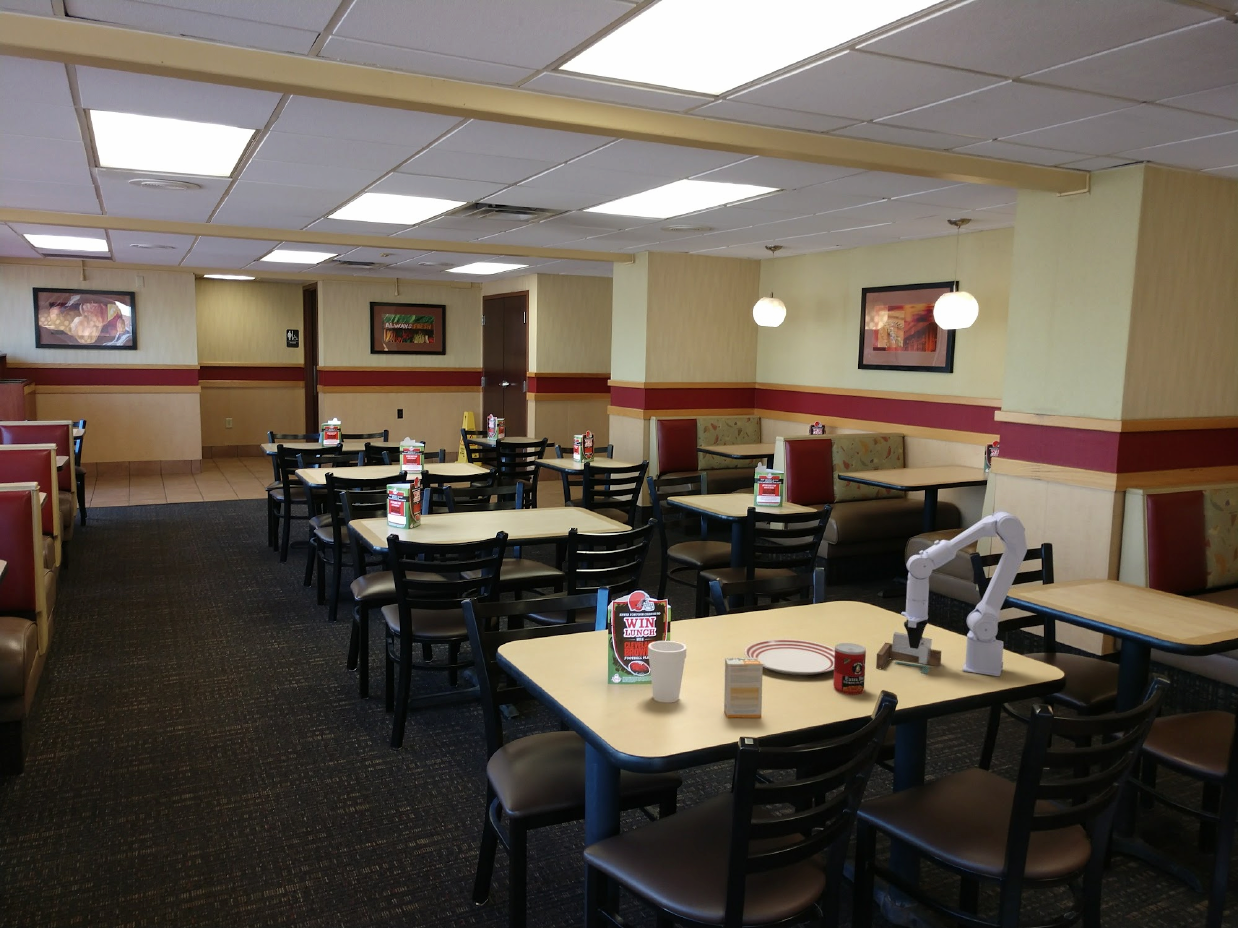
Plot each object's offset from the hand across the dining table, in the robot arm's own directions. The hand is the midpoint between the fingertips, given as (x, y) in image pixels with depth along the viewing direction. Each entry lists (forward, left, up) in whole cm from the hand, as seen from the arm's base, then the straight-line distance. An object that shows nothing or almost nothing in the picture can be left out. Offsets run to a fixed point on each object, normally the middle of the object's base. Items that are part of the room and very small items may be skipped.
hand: (914, 646), depth 248 cm
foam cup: (+49, +58, -6) cm, 76 cm away
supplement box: (+29, +59, -6) cm, 66 cm away
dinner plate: (+29, +16, -6) cm, 34 cm away
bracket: (+1, +2, -2) cm, 3 cm away
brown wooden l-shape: (+1, +2, -5) cm, 6 cm away
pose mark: (0, +3, -5) cm, 6 cm away
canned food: (+11, +29, -6) cm, 32 cm away
